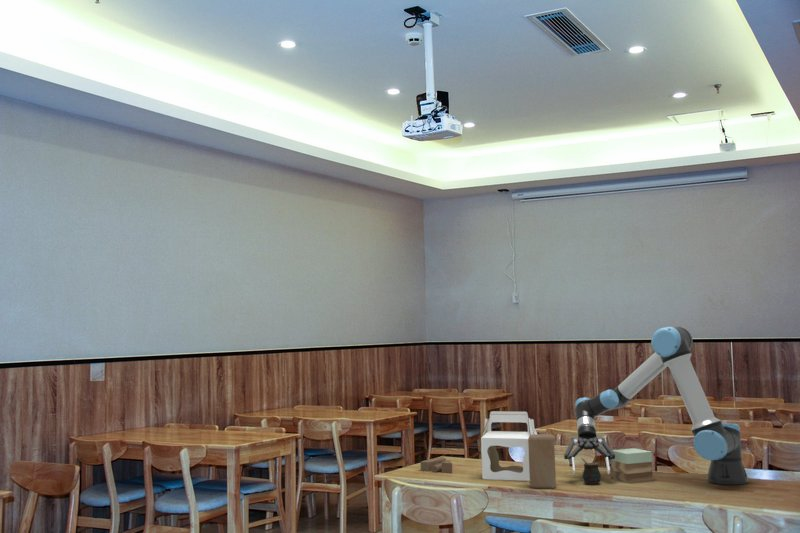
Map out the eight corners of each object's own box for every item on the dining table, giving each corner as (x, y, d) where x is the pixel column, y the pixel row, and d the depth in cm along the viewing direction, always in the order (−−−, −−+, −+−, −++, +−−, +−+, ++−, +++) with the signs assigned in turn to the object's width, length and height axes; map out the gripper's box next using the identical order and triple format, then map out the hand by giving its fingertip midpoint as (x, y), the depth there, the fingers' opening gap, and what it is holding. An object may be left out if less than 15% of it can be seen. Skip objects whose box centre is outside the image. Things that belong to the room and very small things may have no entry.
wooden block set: (418, 459, 374) (440, 454, 388) (419, 472, 373) (440, 466, 388) (450, 461, 364) (471, 456, 379) (451, 474, 364) (471, 468, 378)
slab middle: (652, 471, 334) (652, 461, 334) (627, 473, 330) (626, 463, 330) (635, 467, 345) (634, 457, 345) (610, 469, 341) (610, 459, 341)
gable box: (481, 479, 348) (479, 412, 350) (490, 474, 360) (487, 409, 362) (533, 481, 339) (530, 413, 342) (540, 476, 351) (537, 410, 354)
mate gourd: (598, 485, 325) (596, 460, 326) (579, 484, 329) (578, 459, 330) (603, 482, 332) (601, 457, 333) (585, 481, 335) (583, 456, 336)
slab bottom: (652, 481, 333) (652, 471, 333) (627, 484, 329) (626, 473, 330) (636, 477, 344) (635, 467, 345) (611, 479, 341) (610, 469, 341)
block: (555, 488, 322) (553, 437, 323) (529, 488, 324) (527, 437, 325) (556, 484, 331) (553, 434, 333) (531, 483, 333) (529, 434, 335)
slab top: (652, 461, 334) (651, 451, 334) (627, 463, 330) (626, 453, 330) (634, 457, 345) (634, 448, 345) (610, 460, 341) (609, 450, 341)
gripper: (616, 435, 346) (622, 477, 329) (556, 436, 349) (559, 478, 333) (617, 424, 341) (623, 466, 325) (556, 424, 344) (559, 466, 328)
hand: (591, 472), depth 329 cm, fingers open, 13 cm apart
